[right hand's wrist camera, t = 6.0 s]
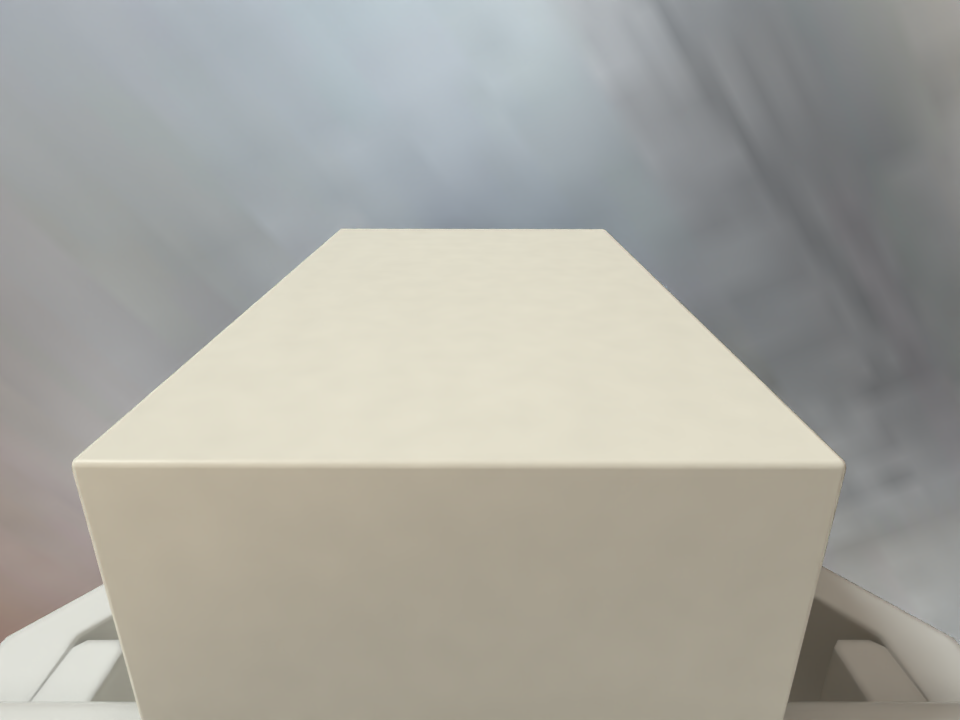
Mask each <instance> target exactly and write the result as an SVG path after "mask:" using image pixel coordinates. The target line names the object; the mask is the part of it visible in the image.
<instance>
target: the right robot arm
mask: <svg viewBox="0 0 960 720" xmlns="http://www.w3.org/2000/svg"><path fill="white" fill-rule="evenodd" d="M0 720H141V718H140V715H139V711H138V707H137V704H136V700H135V696H134V693H133V689H132V685H131V682H130V678H129V674H128V671H127V667H126V664H125V660H124V656H123V653H122V649H121V645H120V642H119V638H118V634H117V631H116V627H115V624H114V620H113V616H112V613H111V609H110V605H109V602H108V598H107V594H106V591H105V587H104V584H103V585H101V586H99V587H98V588H96V589H94V590H92V591H90V592H88V593H87V594H85V595H83V596H81V597H79V598H77V599H76V600H74V601H72V602H70V603H68V604H67V605H65V606H63V607H61V608H59V609H57V610H56V611H54V612H52V613H50V614H48V615H46V616H45V617H43V618H41V619H39V620H37V621H35V622H34V623H32V624H30V625H28V626H26V627H24V628H23V629H21V630H19V631H17V632H15V633H13V634H12V635H10V636H8V637H6V639H5V640H4V641H3V642H2V643H1V644H0ZM783 720H960V645H959V644H958V643H957V642H956V640H955V639H954V638H952V637H950V636H949V635H947V634H945V633H943V632H941V631H939V630H938V629H936V628H934V627H932V626H930V625H929V624H927V623H925V622H923V621H921V620H919V619H918V618H916V617H914V616H912V615H910V614H908V613H907V612H905V611H903V610H901V609H899V608H898V607H896V606H894V605H892V604H890V603H888V602H887V601H885V600H883V599H881V598H879V597H878V596H876V595H874V594H872V593H870V592H868V591H867V590H865V589H863V588H861V587H859V586H857V585H856V584H854V583H852V582H850V581H848V580H847V579H845V578H843V577H841V576H839V575H837V574H836V573H834V572H832V571H830V570H828V569H826V568H825V567H823V566H822V567H821V571H820V575H819V579H818V583H817V587H816V591H815V595H814V599H813V603H812V607H811V611H810V615H809V619H808V623H807V627H806V631H805V635H804V639H803V643H802V647H801V651H800V655H799V659H798V663H797V667H796V671H795V675H794V679H793V683H792V687H791V691H790V695H789V699H788V703H787V707H786V710H785V714H784V718H783Z"/></svg>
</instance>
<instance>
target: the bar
mask: <svg viewBox="0 0 960 720" xmlns="http://www.w3.org/2000/svg"><path fill="white" fill-rule="evenodd" d="M72 471H73V474H74V478H75V482H76V485H77V489H78V493H79V496H80V500H81V503H82V507H83V511H84V514H85V518H86V522H87V525H88V529H89V533H90V536H91V540H92V543H93V547H94V551H95V554H96V558H97V562H98V565H99V569H100V573H101V576H102V580H103V583H104V587H105V591H106V594H107V598H108V602H109V605H110V609H111V613H112V616H113V620H114V624H115V627H116V631H117V634H118V638H119V642H120V645H121V649H122V653H123V656H124V660H125V664H126V667H127V671H128V674H129V678H130V682H131V685H132V689H133V693H134V696H135V700H136V704H137V707H138V711H139V715H140V718H141V720H783V718H784V714H785V710H786V707H787V703H788V699H789V695H790V691H791V687H792V683H793V679H794V675H795V671H796V667H797V663H798V659H799V655H800V651H801V647H802V643H803V639H804V635H805V631H806V627H807V623H808V619H809V615H810V611H811V607H812V603H813V599H814V595H815V591H816V587H817V583H818V579H819V575H820V571H821V567H822V563H823V559H824V555H825V551H826V547H827V543H828V539H829V535H830V531H831V527H832V523H833V519H834V515H835V511H836V507H837V503H838V499H839V495H840V491H841V487H842V483H843V479H844V475H845V471H846V464H845V462H844V460H843V459H842V458H841V457H840V456H839V455H838V454H837V453H836V452H834V451H833V450H832V449H831V448H830V447H829V446H828V445H827V444H826V443H825V442H824V441H823V440H822V439H821V438H820V437H819V436H818V435H817V434H816V433H815V432H814V431H813V430H812V429H811V428H810V427H809V426H808V425H807V424H806V423H804V422H803V421H802V420H801V419H800V418H799V417H798V416H797V415H796V414H795V413H794V412H793V411H792V410H791V409H790V408H789V407H788V406H787V405H786V404H785V403H784V402H783V401H782V400H781V399H780V398H779V397H778V396H777V395H776V394H774V393H773V392H772V391H771V390H770V389H769V388H768V387H767V386H766V385H765V384H764V383H763V382H762V381H761V380H760V379H759V378H758V377H757V376H756V375H755V374H754V373H753V372H752V371H751V370H750V369H749V368H748V367H747V366H746V365H744V364H743V363H742V362H741V361H740V360H739V359H738V358H737V357H736V356H735V355H734V354H733V353H732V352H731V351H730V350H729V349H728V348H727V347H726V346H725V345H724V344H723V343H722V342H721V341H720V340H719V339H718V338H717V337H715V336H714V335H713V334H712V333H711V332H710V331H709V330H708V329H707V328H706V327H705V326H704V325H703V324H702V323H701V322H700V321H699V320H698V319H697V318H696V317H695V316H694V315H693V314H692V313H691V312H690V311H689V310H688V309H687V308H685V307H684V306H683V305H682V304H681V303H680V302H679V301H678V300H677V299H676V298H675V297H674V296H673V295H672V294H671V293H670V292H669V291H668V290H667V289H666V288H665V287H664V286H663V285H662V284H661V283H660V282H659V281H658V280H657V279H655V278H654V277H653V276H652V275H651V274H650V273H649V272H648V271H647V270H646V269H645V268H644V267H643V266H642V265H641V264H640V263H639V262H638V261H637V260H636V259H635V258H634V257H633V256H632V255H631V254H630V253H629V252H628V251H627V250H625V249H624V248H623V247H622V246H621V245H620V244H619V243H618V242H617V241H616V240H615V239H614V238H613V237H612V236H611V235H610V234H609V233H608V232H607V231H606V230H604V229H340V230H339V231H338V232H337V233H335V234H334V235H333V236H332V237H331V238H330V239H329V240H327V241H326V242H325V243H324V244H323V245H322V246H320V247H319V248H318V249H317V250H316V251H315V252H313V253H312V254H311V255H310V256H309V257H308V258H307V259H305V260H304V261H303V262H302V263H301V264H300V265H298V266H297V267H296V268H295V269H294V270H293V271H292V272H290V273H289V274H288V275H287V276H286V277H285V278H283V279H282V280H281V281H280V282H279V283H278V284H276V285H275V286H274V287H273V288H272V289H271V290H270V291H268V292H267V293H266V294H265V295H264V296H263V297H261V298H260V299H259V300H258V301H257V302H256V303H254V304H253V305H252V306H251V307H250V308H249V309H248V310H246V311H245V312H244V313H243V314H242V315H241V316H239V317H238V318H237V319H236V320H235V321H234V322H233V323H231V324H230V325H229V326H228V327H227V328H226V329H224V330H223V331H222V332H221V333H220V334H219V335H217V336H216V337H215V338H214V339H213V340H212V341H211V342H209V343H208V344H207V345H206V346H205V347H204V348H202V349H201V350H200V351H199V352H198V353H197V354H196V355H194V356H193V357H192V358H191V359H190V360H189V361H187V362H186V363H185V364H184V365H183V366H182V367H180V368H179V369H178V370H177V371H176V372H175V373H174V374H172V375H171V376H170V377H169V378H168V379H167V380H165V381H164V382H163V383H162V384H161V385H160V386H158V387H157V388H156V389H155V390H154V391H153V392H152V393H150V394H149V395H148V396H147V397H146V398H145V399H143V400H142V401H141V402H140V403H139V404H138V405H137V406H135V407H134V408H133V409H132V410H131V411H130V412H128V413H127V414H126V415H125V416H124V417H123V418H121V419H120V420H119V421H118V422H117V423H116V424H115V425H113V426H112V427H111V428H110V429H109V430H108V431H106V432H105V433H104V434H103V435H102V436H101V437H99V438H98V439H97V440H96V441H95V442H94V443H93V444H91V445H90V446H89V447H88V448H87V449H86V450H84V451H83V452H82V453H81V454H80V455H79V456H78V457H76V458H75V459H74V460H73V463H72Z"/></svg>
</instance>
